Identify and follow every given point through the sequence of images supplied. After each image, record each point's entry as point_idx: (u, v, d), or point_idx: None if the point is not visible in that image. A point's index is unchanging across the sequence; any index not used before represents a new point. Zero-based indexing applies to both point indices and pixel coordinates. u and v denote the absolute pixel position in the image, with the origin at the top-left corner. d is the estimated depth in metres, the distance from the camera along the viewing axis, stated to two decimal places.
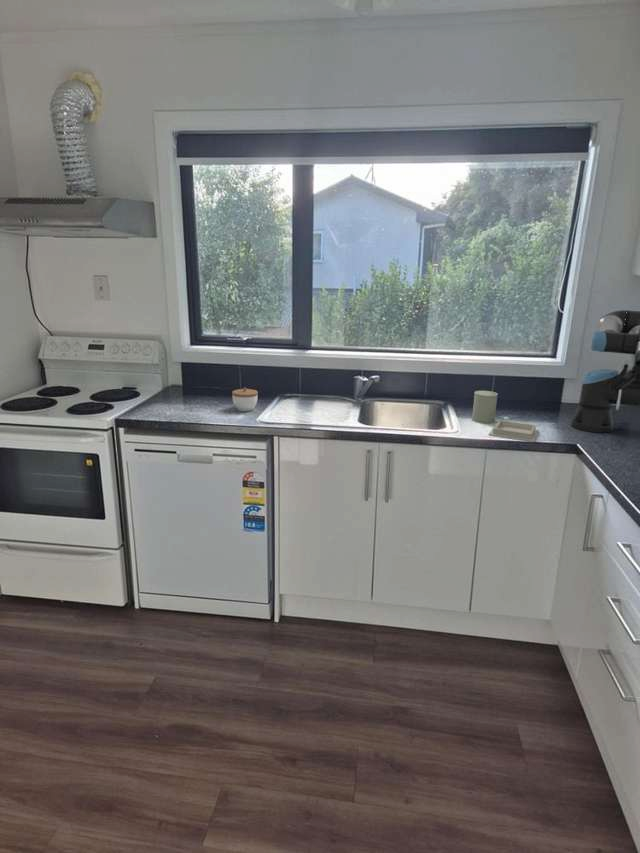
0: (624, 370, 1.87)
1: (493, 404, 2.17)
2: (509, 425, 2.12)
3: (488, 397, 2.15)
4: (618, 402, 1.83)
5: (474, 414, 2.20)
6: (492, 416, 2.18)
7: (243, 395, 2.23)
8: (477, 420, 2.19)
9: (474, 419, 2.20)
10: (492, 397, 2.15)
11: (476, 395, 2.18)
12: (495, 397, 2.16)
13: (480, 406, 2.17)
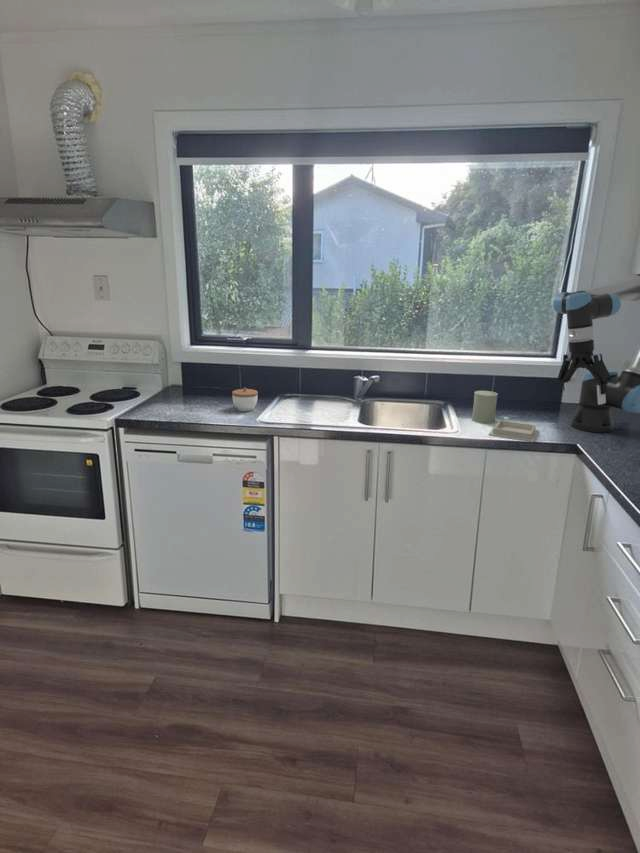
0: (564, 361, 1.88)
1: (493, 404, 2.17)
2: (509, 425, 2.12)
3: (488, 397, 2.15)
4: (565, 396, 1.90)
5: (474, 414, 2.20)
6: (492, 416, 2.18)
7: (243, 395, 2.23)
8: (477, 420, 2.19)
9: (474, 419, 2.20)
10: (492, 397, 2.15)
11: (476, 395, 2.18)
12: (495, 397, 2.16)
13: (480, 406, 2.17)
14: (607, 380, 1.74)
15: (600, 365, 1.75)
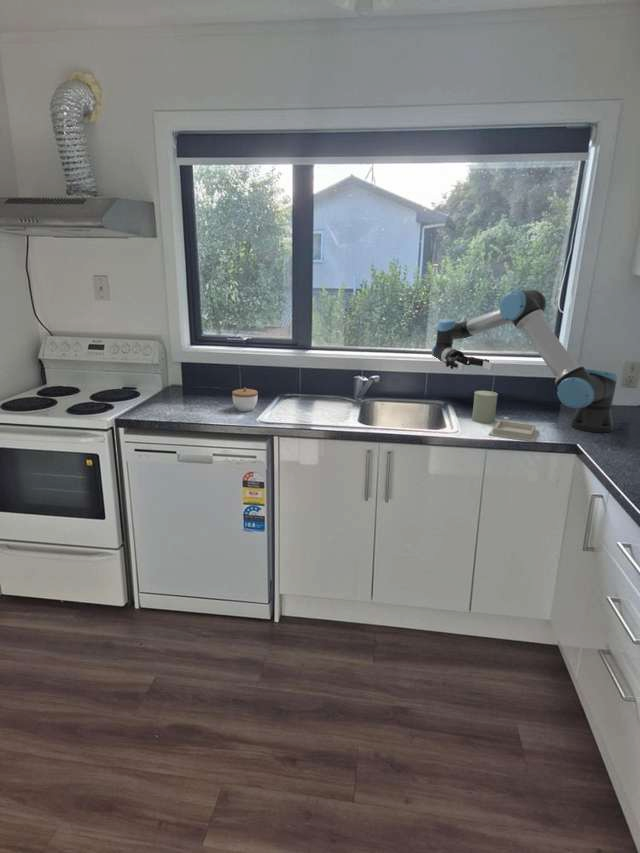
0: None
1: (493, 404, 2.17)
2: (509, 425, 2.12)
3: (488, 397, 2.15)
4: None
5: (474, 414, 2.20)
6: (492, 416, 2.18)
7: (243, 395, 2.23)
8: (477, 420, 2.19)
9: (474, 419, 2.20)
10: (492, 397, 2.15)
11: (476, 395, 2.18)
12: (495, 397, 2.16)
13: (480, 406, 2.17)
14: (446, 365, 2.29)
15: None
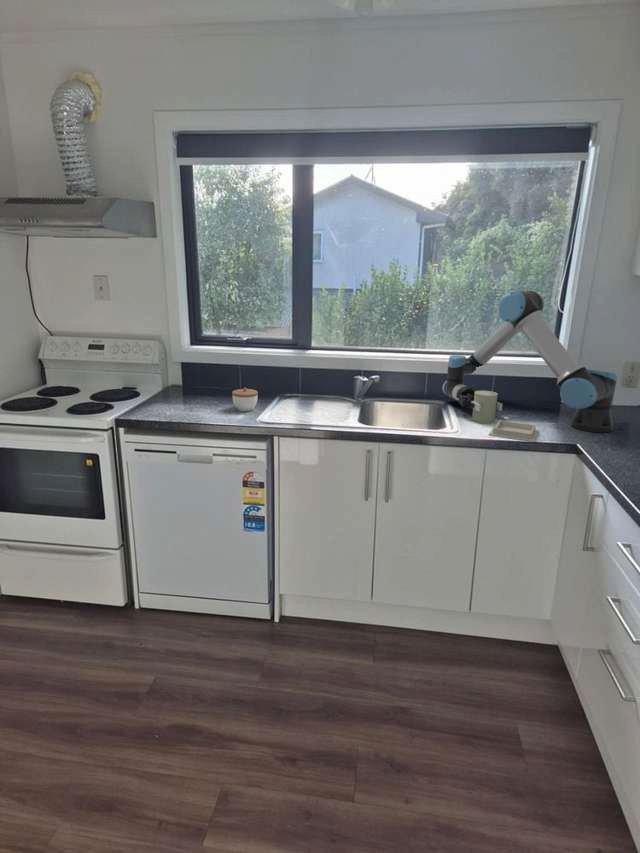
0: None
1: (493, 404, 2.17)
2: (509, 425, 2.12)
3: (488, 397, 2.15)
4: None
5: (474, 414, 2.20)
6: (492, 416, 2.18)
7: (243, 395, 2.23)
8: (477, 420, 2.19)
9: (474, 418, 2.20)
10: (492, 397, 2.15)
11: (476, 395, 2.18)
12: (495, 397, 2.16)
13: None
14: (462, 404, 2.22)
15: (459, 401, 2.27)
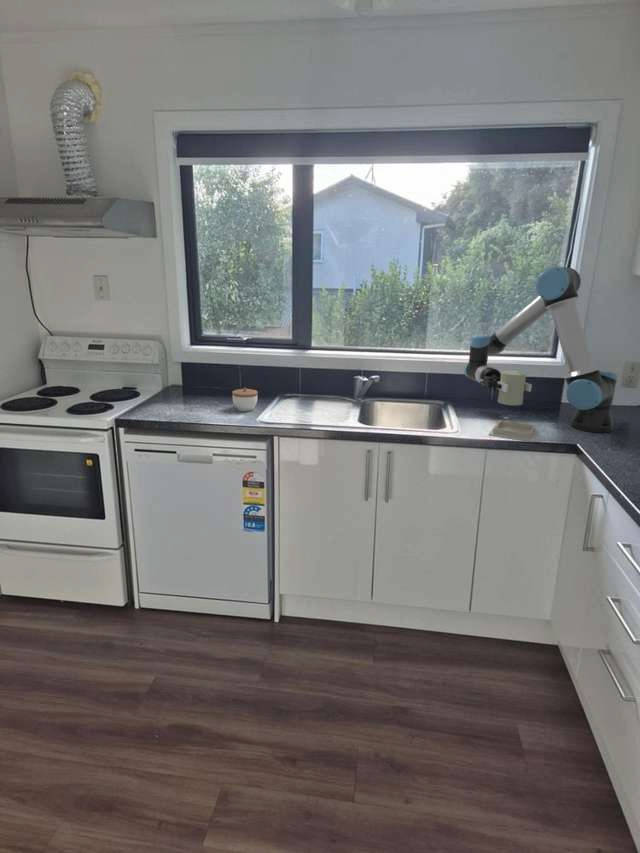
0: None
1: (522, 385, 2.00)
2: (509, 425, 2.12)
3: (516, 377, 1.99)
4: None
5: (501, 395, 2.04)
6: (520, 397, 2.02)
7: (243, 395, 2.23)
8: (504, 402, 2.03)
9: (501, 400, 2.04)
10: (521, 377, 1.99)
11: (503, 375, 2.02)
12: (524, 377, 2.00)
13: None
14: (488, 385, 2.06)
15: (484, 382, 2.11)
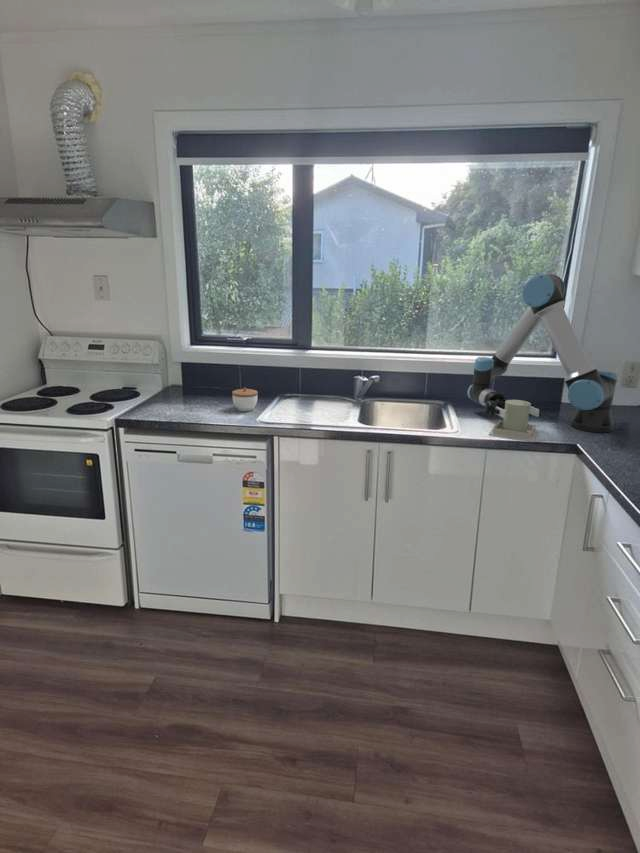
0: None
1: (526, 415, 2.00)
2: None
3: (521, 407, 1.99)
4: None
5: (505, 425, 2.04)
6: (525, 427, 2.02)
7: (243, 395, 2.23)
8: None
9: None
10: (525, 407, 1.99)
11: (507, 405, 2.02)
12: (528, 407, 2.00)
13: (511, 416, 2.01)
14: (486, 410, 2.06)
15: (485, 406, 2.11)
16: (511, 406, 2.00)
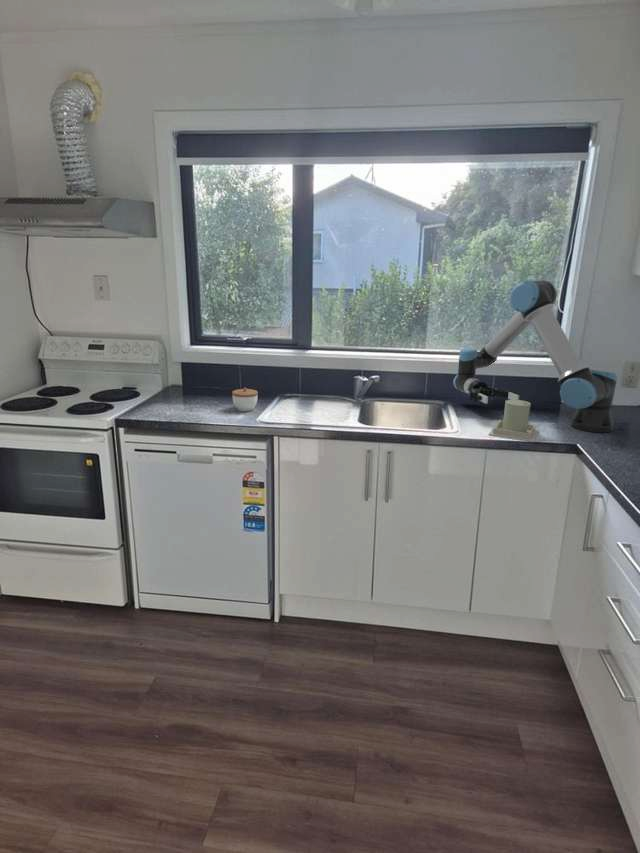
0: None
1: (526, 415, 2.00)
2: None
3: (521, 407, 1.99)
4: None
5: (505, 425, 2.04)
6: (525, 427, 2.02)
7: (243, 395, 2.23)
8: None
9: None
10: (525, 407, 1.99)
11: (507, 405, 2.02)
12: (528, 407, 2.00)
13: (511, 416, 2.01)
14: (469, 397, 2.18)
15: None
16: (511, 406, 2.00)
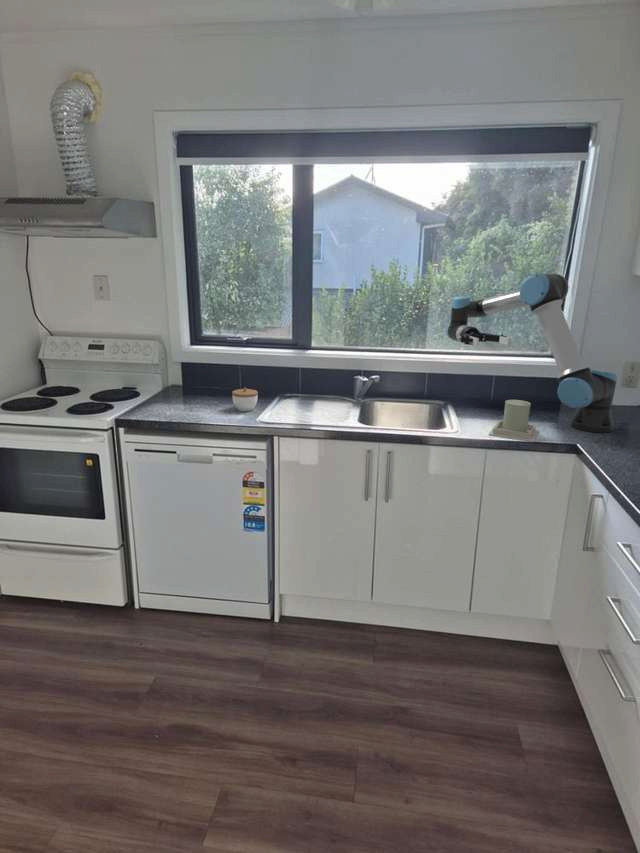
0: None
1: (526, 415, 2.00)
2: None
3: (521, 407, 1.99)
4: (506, 344, 2.19)
5: (505, 425, 2.04)
6: (525, 427, 2.02)
7: (243, 395, 2.23)
8: None
9: None
10: (525, 407, 1.99)
11: (507, 405, 2.02)
12: (528, 407, 2.00)
13: (511, 416, 2.01)
14: (460, 340, 2.21)
15: None
16: (511, 406, 2.00)
